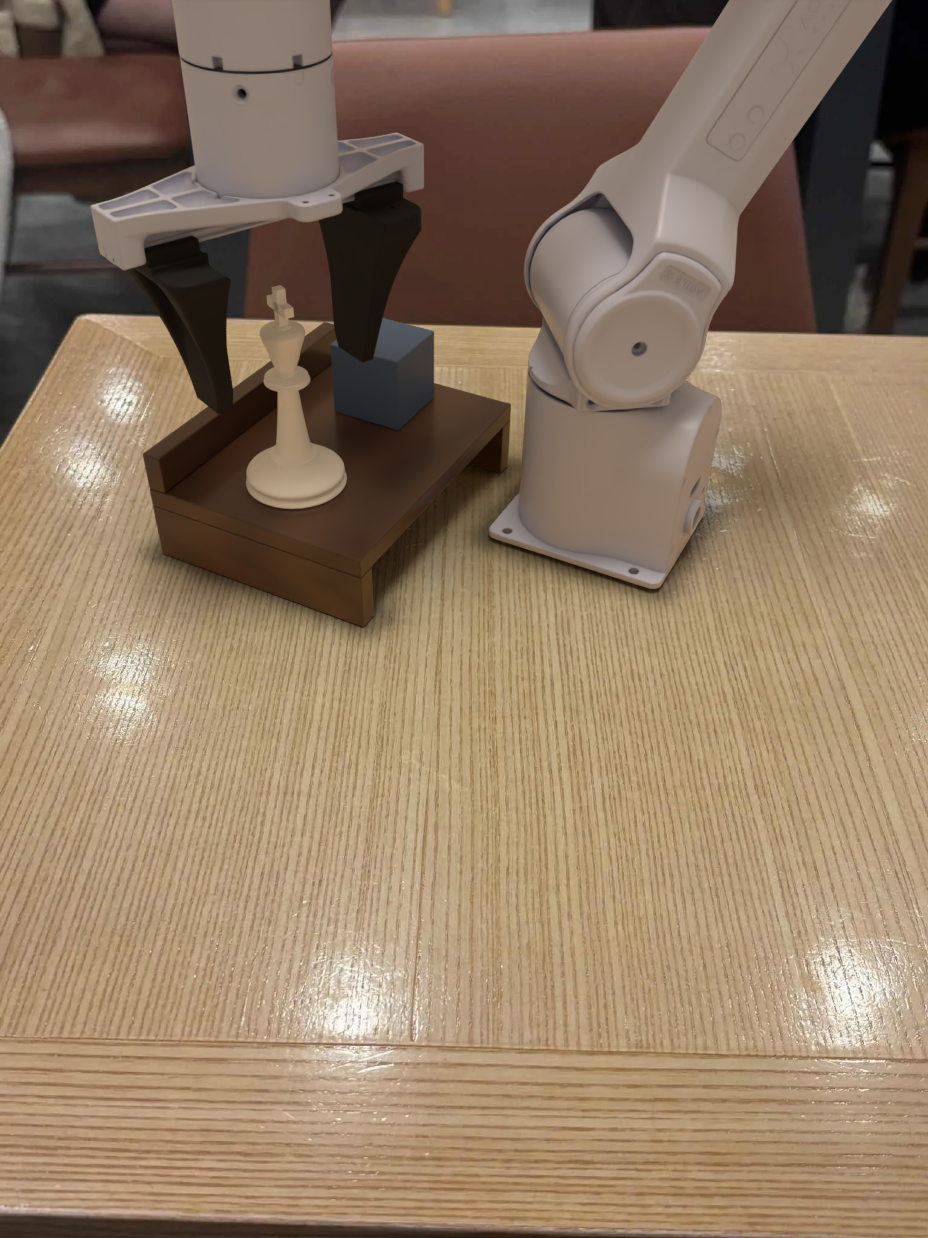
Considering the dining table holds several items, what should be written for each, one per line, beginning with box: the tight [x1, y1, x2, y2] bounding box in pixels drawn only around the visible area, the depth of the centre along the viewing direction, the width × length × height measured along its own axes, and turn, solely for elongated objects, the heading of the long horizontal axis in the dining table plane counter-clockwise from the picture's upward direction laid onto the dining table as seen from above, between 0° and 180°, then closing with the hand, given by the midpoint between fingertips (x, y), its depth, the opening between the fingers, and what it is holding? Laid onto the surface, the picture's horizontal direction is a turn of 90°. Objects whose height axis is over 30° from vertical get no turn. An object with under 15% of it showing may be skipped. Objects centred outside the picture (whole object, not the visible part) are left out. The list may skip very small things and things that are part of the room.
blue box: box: [330, 317, 435, 430], centre depth 58 cm, size 4×4×4 cm
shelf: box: [142, 321, 512, 628], centre depth 57 cm, size 12×16×6 cm
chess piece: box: [246, 284, 347, 509], centre depth 51 cm, size 5×5×10 cm
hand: (288, 377), depth 50 cm, fingers open, 7 cm apart
